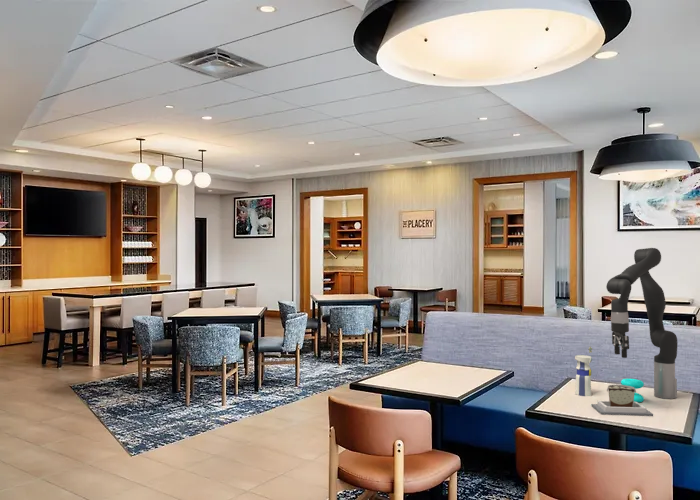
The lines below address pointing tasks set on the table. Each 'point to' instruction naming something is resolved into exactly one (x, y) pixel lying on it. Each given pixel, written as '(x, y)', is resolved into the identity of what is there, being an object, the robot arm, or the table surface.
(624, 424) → the table surface
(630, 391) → the food container
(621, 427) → the table surface
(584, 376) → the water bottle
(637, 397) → the donuts
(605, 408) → the tray
